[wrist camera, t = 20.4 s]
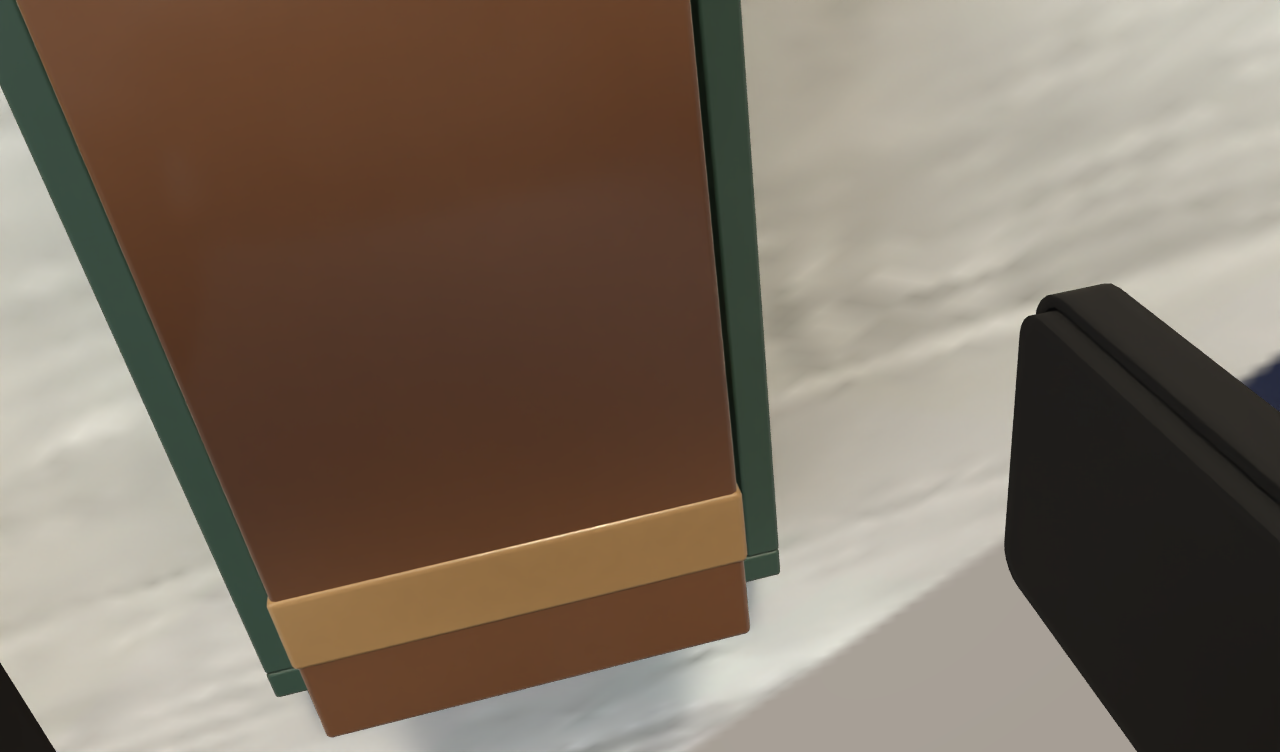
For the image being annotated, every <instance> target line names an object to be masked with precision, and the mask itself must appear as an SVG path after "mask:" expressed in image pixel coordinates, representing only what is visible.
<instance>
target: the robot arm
mask: <svg viewBox="0 0 1280 752" xmlns="http://www.w3.org/2000/svg"><path fill="white" fill-rule="evenodd" d="M1004 547H1005V555H1006V561H1007V564H1008V567H1009V570H1010V572H1011V575H1012V577H1013V579H1014V581H1015V583H1016V584H1017V586H1018V587H1019V589H1020V590H1021V591H1022V593H1023V594H1024V596H1025V597H1026V598H1027V600H1028V601H1029V603H1030V604H1031V605H1032V607H1033V608H1034V609H1035V611H1036V612H1037V614H1038V615H1039V616H1040V618H1041V619H1042V621H1043V622H1044V623H1045V625H1046V626H1047V627H1048V629H1049V630H1050V632H1051V633H1052V634H1053V636H1054V637H1055V639H1056V640H1057V641H1058V643H1059V644H1060V645H1061V647H1062V648H1063V650H1064V651H1065V652H1066V654H1067V655H1068V657H1069V658H1070V659H1071V661H1072V662H1073V663H1074V665H1075V666H1076V668H1077V669H1078V670H1079V672H1080V673H1081V674H1082V676H1083V677H1084V678H1085V680H1086V682H1087V683H1088V684H1089V686H1090V687H1091V688H1092V690H1093V691H1094V692H1095V694H1096V695H1097V697H1098V698H1099V699H1100V701H1101V702H1102V704H1103V705H1104V706H1105V708H1106V709H1107V711H1108V712H1109V713H1110V715H1111V716H1112V717H1113V719H1114V720H1115V722H1116V723H1117V724H1118V726H1119V727H1120V728H1121V730H1122V731H1123V732H1124V734H1125V736H1126V737H1127V738H1128V739H1129V741H1130V742H1131V744H1132V745H1133V747H1134V748H1135V749H1136V751H1137V752H1280V412H1279V411H1277V410H1276V409H1275V408H1274V407H1272V406H1271V405H1270V404H1268V403H1267V402H1266V401H1265V400H1263V399H1262V398H1261V397H1259V396H1258V395H1257V394H1256V393H1254V392H1253V391H1252V390H1250V389H1249V388H1248V387H1247V386H1245V385H1244V384H1243V383H1241V382H1240V381H1239V380H1238V379H1236V378H1235V377H1234V376H1232V375H1231V374H1230V373H1229V372H1227V371H1226V370H1225V369H1223V368H1222V367H1221V366H1220V365H1218V364H1217V363H1216V362H1214V361H1213V360H1212V359H1211V358H1209V357H1208V356H1207V355H1205V354H1204V353H1203V352H1202V351H1200V350H1199V349H1198V348H1196V347H1195V346H1194V345H1193V344H1191V343H1190V342H1189V341H1187V340H1186V339H1185V338H1184V337H1182V336H1181V335H1180V334H1178V333H1177V332H1176V331H1175V330H1173V329H1172V328H1171V327H1169V326H1168V325H1167V324H1166V323H1164V322H1163V321H1162V320H1160V319H1159V318H1158V317H1157V316H1155V315H1154V314H1153V313H1151V312H1150V311H1149V310H1147V309H1146V308H1145V307H1144V306H1142V305H1141V304H1140V303H1138V302H1137V301H1136V300H1135V299H1133V298H1132V297H1131V296H1129V295H1128V294H1127V293H1126V292H1124V291H1123V290H1122V289H1120V288H1119V287H1117V286H1115V285H1113V284H1100V285H1095V286H1090V287H1086V288H1081V289H1076V290H1071V291H1067V292H1062V293H1057V294H1052V295H1048V296H1046V297H1045V298H1043V299H1042V300H1041V301H1040V303H1039V305H1038V307H1037V310H1036V315H1031V316H1028V317H1027V318H1025V319H1024V321H1023V323H1022V325H1021V330H1020V337H1019V350H1018V364H1017V378H1016V391H1015V405H1014V419H1013V432H1012V446H1011V459H1010V473H1009V487H1008V500H1007V514H1006V527H1005V541H1004ZM0 752H56V751H55V749H54V748H53V746H52V744H51V743H50V741H49V740H48V738H47V736H46V735H45V733H44V732H43V730H42V728H41V727H40V725H39V724H38V722H37V720H36V719H35V717H34V716H33V714H32V713H31V711H30V709H29V708H28V706H27V705H26V703H25V701H24V700H23V698H22V697H21V695H20V693H19V692H18V690H17V689H16V687H15V685H14V684H13V682H12V681H11V679H10V678H9V676H8V674H7V673H6V671H5V670H4V668H3V666H2V665H1V663H0Z"/></svg>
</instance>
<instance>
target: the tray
mask: <svg viewBox="0 0 1280 752" xmlns="http://www.w3.org/2000/svg"><path fill="white" fill-rule="evenodd" d="M690 3H691V14H692V24H693V35H694V45H695V56H696V66H697V77H698V87H699V98H700V108H701V119H702V129H703V140H704V150H705V161H706V171H707V181H708V192H709V202H710V213H711V223H712V234H713V244H714V255H715V265H716V276H717V286H718V297H719V307H720V318H721V328H722V339H723V349H724V360H725V370H726V380H727V391H728V401H729V412H730V422H731V433H732V443H733V454H734V464H735V475H736V483H737V485H738V487H739V489H740V491H741V493H742V501H743V512H744V522H745V533H746V544H747V557H746V559H745V560H744V569H745V579H746V582H748V581H752V580H756V579H760V578H765V577H769V576H773V575H777V574H779V572H780V562H779V551H778V532H777V518H776V504H775V489H774V475H773V460H772V446H771V432H770V417H769V403H768V388H767V374H766V360H765V345H764V331H763V317H762V302H761V288H760V273H759V259H758V245H757V230H756V216H755V201H754V187H753V173H752V158H751V144H750V129H749V115H748V101H747V86H746V72H745V57H744V43H743V29H742V14H741V0H690ZM0 86H1V88H2V90H3V93H4V95H5V97H6V99H7V102H8V104H9V106H10V108H11V110H12V113H13V115H14V117H15V119H16V121H17V124H18V126H19V128H20V130H21V133H22V135H23V137H24V139H25V141H26V144H27V146H28V148H29V150H30V152H31V155H32V157H33V159H34V161H35V164H36V166H37V168H38V170H39V172H40V175H41V177H42V179H43V181H44V183H45V186H46V188H47V190H48V192H49V194H50V197H51V199H52V201H53V203H54V206H55V208H56V210H57V212H58V214H59V217H60V219H61V221H62V223H63V225H64V228H65V230H66V232H67V234H68V237H69V239H70V241H71V243H72V245H73V248H74V250H75V252H76V254H77V256H78V259H79V261H80V263H81V265H82V268H83V270H84V272H85V274H86V276H87V279H88V281H89V283H90V285H91V287H92V290H93V292H94V294H95V296H96V299H97V301H98V303H99V305H100V307H101V310H102V312H103V314H104V316H105V318H106V321H107V323H108V325H109V327H110V330H111V332H112V334H113V336H114V338H115V341H116V343H117V345H118V347H119V349H120V352H121V354H122V356H123V358H124V360H125V363H126V365H127V367H128V369H129V372H130V374H131V376H132V378H133V380H134V383H135V385H136V387H137V389H138V391H139V394H140V396H141V398H142V400H143V403H144V405H145V407H146V409H147V411H148V414H149V416H150V418H151V420H152V422H153V425H154V427H155V429H156V431H157V434H158V436H159V438H160V440H161V442H162V445H163V447H164V449H165V451H166V453H167V456H168V458H169V460H170V462H171V465H172V467H173V469H174V471H175V473H176V476H177V478H178V480H179V482H180V484H181V487H182V489H183V491H184V493H185V496H186V498H187V500H188V502H189V504H190V507H191V509H192V511H193V513H194V515H195V518H196V520H197V522H198V524H199V527H200V529H201V531H202V533H203V535H204V538H205V540H206V542H207V544H208V546H209V549H210V551H211V553H212V555H213V557H214V560H215V562H216V564H217V566H218V569H219V571H220V573H221V575H222V577H223V580H224V582H225V584H226V586H227V588H228V591H229V593H230V595H231V597H232V600H233V602H234V604H235V606H236V608H237V611H238V613H239V615H240V617H241V619H242V622H243V624H244V626H245V628H246V631H247V633H248V635H249V637H250V639H251V642H252V644H253V646H254V648H255V650H256V653H257V655H258V657H259V659H260V662H261V664H262V666H263V668H264V670H265V672H266V673H267V677H268V679H269V682H270V684H271V686H272V688H273V690H274V693H275V695H276V696H277V697H282V696H286V695H290V694H294V693H298V692H302V691H306V690H307V687H306V685H305V683H304V680H303V678H302V676H301V673H300V671H299V669H295V668H293V666H292V665H291V663H290V660H289V658H288V656H287V653H286V651H285V649H284V646H283V644H282V642H281V639H280V637H279V635H278V632H277V630H276V627H275V625H274V623H273V620H272V618H271V616H270V613H269V611H268V609H267V599H268V595H267V593H266V590H265V588H264V586H263V583H262V581H261V579H260V576H259V574H258V572H257V569H256V567H255V564H254V562H253V560H252V557H251V555H250V553H249V550H248V548H247V546H246V543H245V541H244V538H243V536H242V534H241V531H240V529H239V527H238V524H237V522H236V520H235V517H234V515H233V512H232V510H231V508H230V505H229V503H228V501H227V498H226V496H225V494H224V491H223V489H222V486H221V484H220V482H219V479H218V477H217V475H216V472H215V470H214V468H213V465H212V463H211V460H210V458H209V456H208V453H207V451H206V449H205V446H204V444H203V442H202V439H201V437H200V434H199V432H198V430H197V427H196V425H195V423H194V420H193V418H192V416H191V413H190V411H189V408H188V406H187V404H186V401H185V399H184V397H183V394H182V392H181V390H180V387H179V385H178V382H177V380H176V378H175V375H174V373H173V371H172V368H171V366H170V364H169V361H168V359H167V356H166V354H165V352H164V349H163V347H162V345H161V342H160V340H159V338H158V335H157V333H156V330H155V328H154V326H153V323H152V321H151V319H150V316H149V314H148V312H147V309H146V307H145V304H144V302H143V300H142V297H141V295H140V293H139V290H138V288H137V286H136V283H135V281H134V278H133V276H132V274H131V271H130V269H129V267H128V264H127V262H126V260H125V257H124V255H123V253H122V250H121V248H120V245H119V243H118V241H117V238H116V236H115V234H114V231H113V229H112V227H111V224H110V222H109V219H108V217H107V215H106V212H105V210H104V208H103V205H102V203H101V201H100V198H99V196H98V193H97V191H96V189H95V186H94V184H93V182H92V179H91V177H90V175H89V172H88V170H87V167H86V165H85V163H84V160H83V158H82V156H81V153H80V151H79V149H78V146H77V144H76V141H75V139H74V137H73V134H72V132H71V130H70V127H69V125H68V123H67V120H66V118H65V115H64V113H63V111H62V108H61V106H60V104H59V101H58V99H57V97H56V94H55V92H54V89H53V87H52V85H51V82H50V80H49V78H48V75H47V73H46V71H45V68H44V66H43V63H42V61H41V59H40V56H39V54H38V52H37V49H36V47H35V45H34V42H33V40H32V37H31V35H30V33H29V30H28V28H27V26H26V23H25V21H24V19H23V16H22V14H21V11H20V9H19V7H18V4H17V2H16V0H0Z"/></svg>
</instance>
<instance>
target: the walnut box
mask: <svg viewBox="0 0 1280 752" xmlns="http://www.w3.org/2000/svg"><path fill="white" fill-rule="evenodd" d="M16 2H17V4H18V7H19V9H20V11H21V14H22V16H23V19H24V21H25V23H26V26H27V28H28V30H29V33H30V35H31V37H32V40H33V42H34V45H35V47H36V49H37V52H38V54H39V56H40V59H41V61H42V63H43V66H44V68H45V71H46V73H47V75H48V78H49V80H50V82H51V85H52V87H53V89H54V92H55V94H56V97H57V99H58V101H59V104H60V106H61V108H62V111H63V113H64V115H65V118H66V120H67V123H68V125H69V127H70V130H71V132H72V134H73V137H74V139H75V141H76V144H77V146H78V149H79V151H80V153H81V156H82V158H83V160H84V163H85V165H86V167H87V170H88V172H89V175H90V177H91V179H92V182H93V184H94V186H95V189H96V191H97V193H98V196H99V198H100V201H101V203H102V205H103V208H104V210H105V212H106V215H107V217H108V219H109V222H110V224H111V227H112V229H113V231H114V234H115V236H116V238H117V241H118V243H119V245H120V248H121V250H122V253H123V255H124V257H125V260H126V262H127V264H128V267H129V269H130V271H131V274H132V276H133V278H134V281H135V283H136V286H137V288H138V290H139V293H140V295H141V297H142V300H143V302H144V304H145V307H146V309H147V312H148V314H149V316H150V319H151V321H152V323H153V326H154V328H155V330H156V333H157V335H158V338H159V340H160V342H161V345H162V347H163V349H164V352H165V354H166V356H167V359H168V361H169V364H170V366H171V368H172V371H173V373H174V375H175V378H176V380H177V382H178V385H179V387H180V390H181V392H182V394H183V397H184V399H185V401H186V404H187V406H188V408H189V411H190V413H191V416H192V418H193V420H194V423H195V425H196V427H197V430H198V432H199V434H200V437H201V439H202V442H203V444H204V446H205V449H206V451H207V453H208V456H209V458H210V460H211V463H212V465H213V468H214V470H215V472H216V475H217V477H218V479H219V482H220V484H221V486H222V489H223V491H224V494H225V496H226V498H227V501H228V503H229V505H230V508H231V510H232V512H233V515H234V517H235V520H236V522H237V524H238V527H239V529H240V531H241V534H242V536H243V538H244V541H245V543H246V546H247V548H248V550H249V553H250V555H251V557H252V560H253V562H254V564H255V567H256V569H257V572H258V574H259V576H260V579H261V581H262V583H263V586H264V588H265V590H266V593H267V595H268V599H267V609H268V611H269V613H270V616H271V618H272V620H273V623H274V625H275V627H276V630H277V632H278V635H279V637H280V639H281V642H282V644H283V646H284V649H285V651H286V653H287V656H288V658H289V660H290V663H291V665H292V666H293V668H295V669H299V671H300V673H301V676H302V678H303V680H304V683H305V685H306V687H307V690H308V692H309V694H310V697H311V699H312V702H313V704H314V706H315V709H316V711H317V713H318V716H319V718H320V720H321V723H322V725H323V728H324V730H325V732H326V734H327V736H328V737H336V736H340V735H344V734H348V733H352V732H356V731H360V730H364V729H368V728H372V727H376V726H380V725H384V724H388V723H392V722H396V721H399V720H403V719H407V718H411V717H415V716H419V715H423V714H427V713H431V712H435V711H439V710H443V709H447V708H451V707H455V706H459V705H463V704H467V703H471V702H475V701H479V700H483V699H487V698H491V697H495V696H499V695H503V694H507V693H511V692H515V691H518V690H522V689H526V688H530V687H534V686H538V685H542V684H546V683H550V682H554V681H558V680H562V679H566V678H570V677H574V676H578V675H582V674H586V673H590V672H594V671H598V670H602V669H606V668H610V667H614V666H618V665H622V664H626V663H630V662H634V661H638V660H641V659H645V658H649V657H653V656H657V655H661V654H665V653H669V652H673V651H677V650H681V649H685V648H689V647H693V646H697V645H701V644H705V643H709V642H713V641H717V640H721V639H725V638H729V637H733V636H737V635H741V634H745V633H747V632H748V631H749V629H750V621H749V611H748V600H747V590H746V579H745V569H744V560H745V559H746V557H747V544H746V533H745V522H744V512H743V501H742V493H741V491H740V489H739V487H738V485H737V483H736V475H735V464H734V454H733V443H732V433H731V422H730V412H729V401H728V391H727V380H726V370H725V360H724V349H723V339H722V328H721V318H720V307H719V297H718V286H717V276H716V265H715V255H714V244H713V234H712V223H711V213H710V202H709V192H708V181H707V171H706V161H705V150H704V140H703V129H702V119H701V108H700V98H699V87H698V77H697V66H696V56H695V45H694V35H693V24H692V14H691V3H690V0H16Z"/></svg>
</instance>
